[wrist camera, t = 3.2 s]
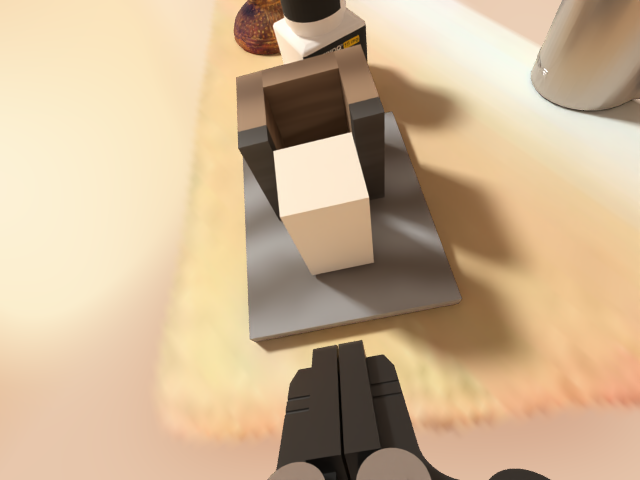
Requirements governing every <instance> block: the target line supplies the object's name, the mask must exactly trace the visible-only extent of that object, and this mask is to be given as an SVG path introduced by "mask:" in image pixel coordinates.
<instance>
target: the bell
mask: <svg viewBox="0 0 640 480" xmlns="http://www.w3.org/2000/svg"><path fill="white" fill-rule="evenodd" d="M283 18H284V14H283V10H282V6H281V2H280V0H248V1H247V2H246V3H245V4H244V5H243V6H242V8H241V9H240V11H239V12H238V14H237V16H236V19H235V25H234V35H235V40H236V42H237V43H238V45H239V46H241V47H242V48H243V49H244V50H246V51H248V52H251V53H255V54H265V55H269V54H276V53H279V52H280V49H279V46H278V42H277V39H276V35H275V32H274V29H273V25H274V23H275V22H277V21H279V20H281V19H283ZM256 46H257V47H256Z"/></svg>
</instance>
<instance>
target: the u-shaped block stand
mask: <svg viewBox="0 0 640 480" xmlns="http://www.w3.org/2000/svg"><path fill="white" fill-rule="evenodd" d="M236 85H237V120H238V149H239V150H240V152H241V154H242V156H243V171H244V198H245V225H246V251H247V278H248V305H249V332H250V340H252V341H254V342H258V341H263V340H268V339H274V338H279V337H284V336H289V335H295V334H300V333H305V332H311V331H316V330H321V329H326V328H332V327H337V326H342V325H347V324H353V323H358V322H363V321H369V320H374V319H379V318H384V317H390V316H395V315H400V314H405V313H411V312H416V311H421V310H427V309H432V308H437V307H442V306H448V305H453V304H458V303H459V302H460V301H461V299H462V297H461V295H460V292H459V289H458V287H457V284H456V281H455V279H454V276H453V273H452V271H451V268H450V265H449V263H448V260H447V257H446V255H445V252H444V249H443V246H442V244H441V241H440V238H439V236H438V233H437V230H436V228H435V225H434V222H433V220H432V217H431V214H430V212H429V209H428V206H427V204H426V201H425V198H424V195H423V193H422V190H421V187H420V185H419V182H418V179H417V177H416V174H415V171H414V169H413V166H412V163H411V161H410V158H409V155H408V153H407V150H406V147H405V144H404V142H403V139H402V136H401V134H400V131H399V128H398V126H397V123H396V120H395V118H394V115H393V112H388V113H385V112H384V109H383V106H382V103H381V101H380V98H379V95H378V92H377V89H376V87H375V84H374V81H373V78H372V75H371V72H370V70H369V67H368V64H367V61H366V58H365V56H364V53H363V50H362V47H361V44H359V45H356V46H352V47H348V48H344V49H341V50H337V51H333V52H329V53H326V54H322V55H318V56H314V57H311V58H307V59H303V60H299V61H296V62H292V63H288V64H284V65H281V66H277V67H273V68H270V69H266V70H262V71H258V72H255V73H251V74H247V75H243V76H240V77H236ZM350 132H352V136H353V140H354V144H355V147H356V151H357V155H358V158H359V162H360V166H361V169H362V173H363V177H364V181H365V184H366V188H367V192H368V195H369V204H370V217H371V231H372V244H373V257H374V263H370V264H365V265H360V266H355V267H350V268H345V269H340V270H335V271H331V272H326V273H321V274H316V275H312V274H311V272H310V271H309V269H308V267H307V265H306V263H305V262H304V260H303V258H302V256H301V254H300V253H299V251H298V249H297V247H296V245H295V243H294V242H293V240H292V238H291V236H290V234H289V233H288V231H287V229H286V227H285V225H284V224H283V222H282V220H281V218H280V212H279V202H278V192H277V182H276V172H275V162H274V152H273V151H276V150H280V149H285V148H289V147H293V146H297V145H301V144H305V143H309V142H313V141H317V140H322V139H326V138H330V137H334V136H338V135H342V134H346V133H350Z"/></svg>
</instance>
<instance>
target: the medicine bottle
mask: <svg viewBox="0 0 640 480" xmlns="http://www.w3.org/2000/svg"><path fill="white" fill-rule="evenodd" d="M280 2H281V6H282V10H283V14H284V18H283V19H281V20H279V21H277V22H275V23H274V25H273V29H274V32H275V35H276V39H277V42H278V46H279V49H280V52H281V56H282V59H283V63H284V64H288V63H292V62H296V61H299V60H303V59H307V58H311V57H314V56H318V55H322V54H326V53H329V52H333V51H337V50H341V49H344V48H348V47H352V46H356V45H359V44H361V47H362V50H363V53H364V56H365V58H366V61H367V43H366V24H365V21H364V20H362V19H361V18H360V17H358V16H357V15H356V14H354V13H353V12H352V11H350V10H349V9H347V8H346V1H345V0H280Z"/></svg>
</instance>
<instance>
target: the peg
mask: <svg viewBox="0 0 640 480" xmlns="http://www.w3.org/2000/svg"><path fill="white" fill-rule="evenodd" d="M273 152H274V162H275V172H276V182H277V192H278V202H279V212H280V218H281V220H282V222H283V224H284V225H285V227H286V229H287V231H288V233H289V234H290V236H291V238H292V240H293V242H294V243H295V245H296V247H297V249H298V251H299V253H300V254H301V256H302V258H303V260H304V262H305V263H306V265H307V267H308V269H309V271H310V272H311V274H312V275H316V274H321V273H326V272H331V271H335V270H340V269H345V268H350V267H355V266H360V265H365V264H370V263H374V257H373V244H372V231H371V217H370V204H369V195H368V192H367V188H366V184H365V181H364V177H363V173H362V169H361V166H360V162H359V158H358V155H357V151H356V147H355V144H354V140H353V136H352V132H350V133H346V134H342V135H338V136H334V137H330V138H326V139H322V140H317V141H313V142H309V143H305V144H301V145H297V146H293V147H289V148H285V149H280V150H276V151H273Z"/></svg>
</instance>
